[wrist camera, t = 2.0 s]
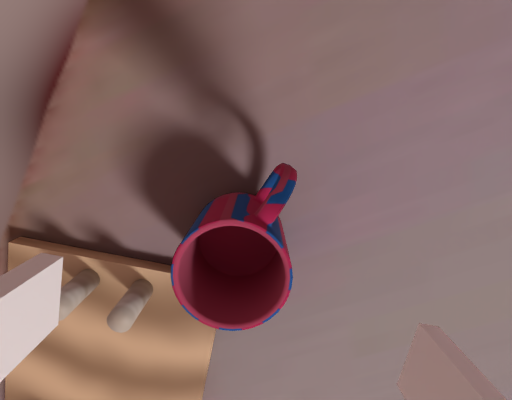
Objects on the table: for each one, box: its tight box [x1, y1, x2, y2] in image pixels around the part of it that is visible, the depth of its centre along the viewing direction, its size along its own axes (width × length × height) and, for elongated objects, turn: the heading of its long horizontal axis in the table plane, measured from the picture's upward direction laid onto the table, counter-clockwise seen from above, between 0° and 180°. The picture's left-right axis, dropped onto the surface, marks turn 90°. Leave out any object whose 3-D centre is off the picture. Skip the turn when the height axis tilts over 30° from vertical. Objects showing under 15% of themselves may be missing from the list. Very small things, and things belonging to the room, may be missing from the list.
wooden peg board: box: [5, 237, 216, 400], centre depth 24 cm, size 18×16×5 cm
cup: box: [171, 163, 297, 331], centre depth 20 cm, size 7×10×7 cm
